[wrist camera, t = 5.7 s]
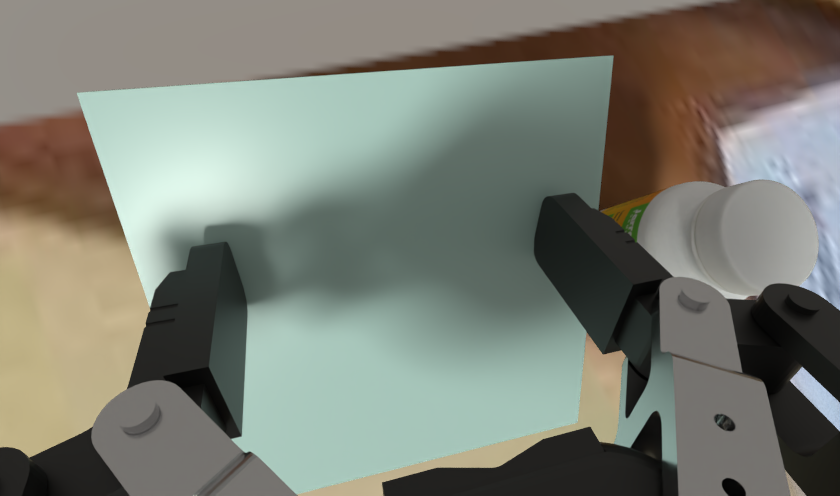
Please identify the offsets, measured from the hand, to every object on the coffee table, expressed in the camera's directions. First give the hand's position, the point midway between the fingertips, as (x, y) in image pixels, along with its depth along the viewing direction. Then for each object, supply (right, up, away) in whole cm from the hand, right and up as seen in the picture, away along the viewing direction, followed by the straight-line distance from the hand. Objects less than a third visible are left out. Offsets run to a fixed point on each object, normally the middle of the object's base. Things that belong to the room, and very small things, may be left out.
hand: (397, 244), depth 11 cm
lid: (0, -1, +2) cm, 2 cm away
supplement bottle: (+11, -1, +13) cm, 17 cm away
